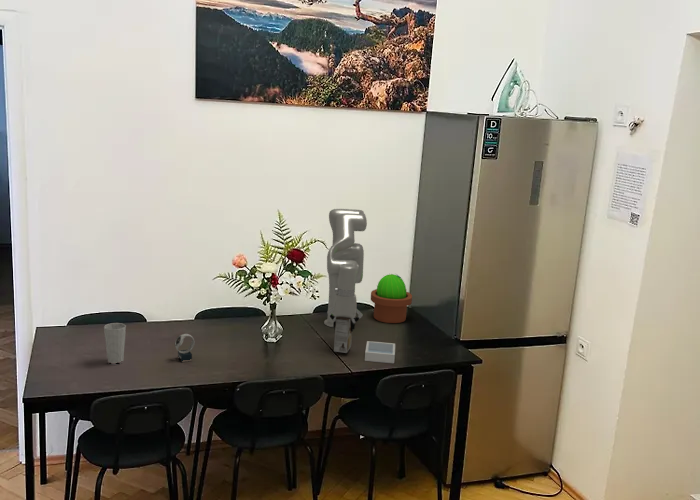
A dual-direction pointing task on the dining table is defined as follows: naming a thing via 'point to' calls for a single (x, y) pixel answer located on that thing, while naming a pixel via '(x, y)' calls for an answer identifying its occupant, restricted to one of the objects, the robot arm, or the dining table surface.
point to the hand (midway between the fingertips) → (343, 329)
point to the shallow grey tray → (380, 352)
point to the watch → (184, 353)
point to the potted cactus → (391, 299)
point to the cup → (115, 341)
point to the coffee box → (343, 334)
